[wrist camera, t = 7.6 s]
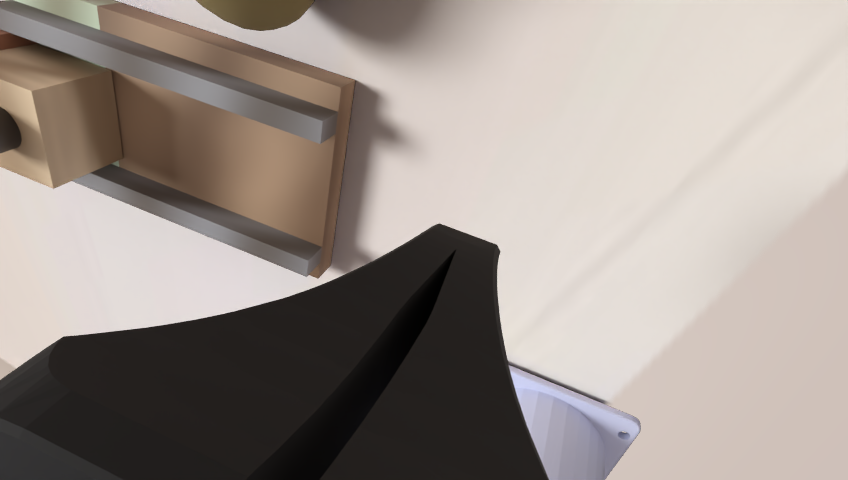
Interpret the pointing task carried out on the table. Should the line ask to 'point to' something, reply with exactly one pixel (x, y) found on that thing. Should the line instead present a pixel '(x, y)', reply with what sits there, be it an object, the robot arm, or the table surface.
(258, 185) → the track
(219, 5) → the brown rounded lump
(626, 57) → the table surface
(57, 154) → the slider
